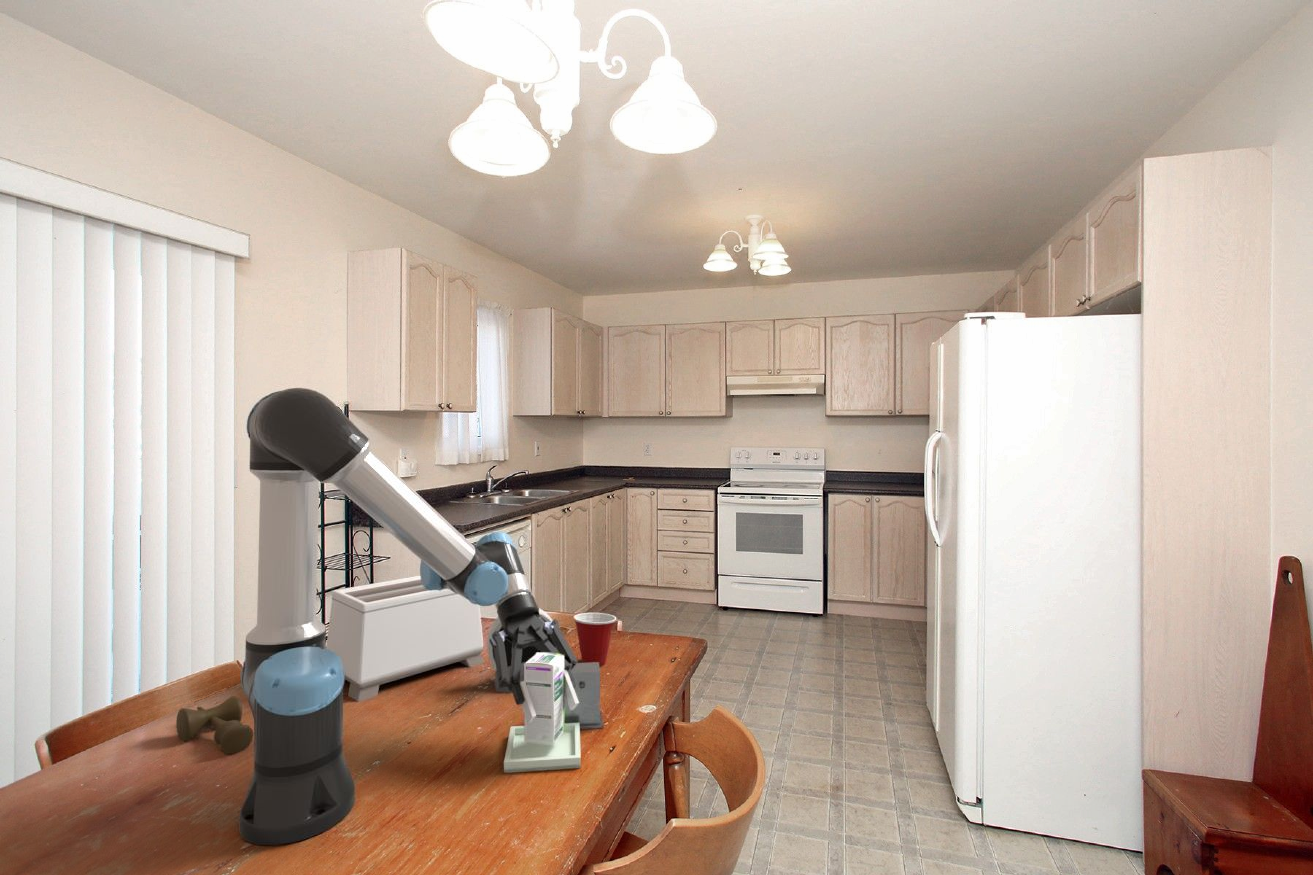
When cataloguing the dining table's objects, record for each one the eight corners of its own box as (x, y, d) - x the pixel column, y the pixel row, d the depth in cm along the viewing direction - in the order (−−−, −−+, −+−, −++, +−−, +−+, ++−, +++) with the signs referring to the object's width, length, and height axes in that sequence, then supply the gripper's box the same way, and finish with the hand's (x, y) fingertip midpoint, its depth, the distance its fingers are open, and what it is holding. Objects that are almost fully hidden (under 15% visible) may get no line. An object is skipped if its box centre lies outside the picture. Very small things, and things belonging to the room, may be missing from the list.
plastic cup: (624, 661, 157) (625, 614, 157) (598, 674, 148) (599, 625, 148) (591, 652, 163) (591, 607, 163) (564, 665, 154) (564, 617, 154)
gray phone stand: (560, 730, 120) (560, 674, 120) (560, 716, 126) (560, 662, 126) (603, 727, 122) (603, 672, 122) (601, 714, 128) (602, 661, 127)
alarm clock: (488, 695, 136) (489, 613, 136) (485, 678, 146) (486, 601, 145) (561, 686, 141) (562, 607, 141) (554, 670, 151) (554, 595, 151)
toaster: (495, 659, 158) (496, 579, 158) (357, 702, 132) (358, 606, 132) (455, 642, 171) (456, 568, 170) (323, 678, 145) (323, 590, 145)
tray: (503, 772, 105) (503, 762, 105) (510, 735, 118) (510, 726, 118) (580, 767, 107) (580, 757, 107) (579, 731, 120) (579, 722, 120)
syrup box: (553, 746, 109) (554, 664, 109) (522, 742, 110) (523, 661, 110) (565, 731, 115) (566, 653, 115) (535, 727, 116) (536, 650, 116)
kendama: (206, 768, 107) (167, 731, 119) (267, 747, 115) (225, 714, 127) (207, 734, 107) (169, 700, 119) (268, 715, 115) (226, 685, 126)
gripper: (554, 604, 131) (594, 706, 118) (458, 622, 118) (492, 739, 106) (567, 584, 127) (610, 688, 114) (469, 600, 114) (505, 720, 101)
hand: (553, 712), depth 110 cm, fingers closed on syrup box, 8 cm apart
